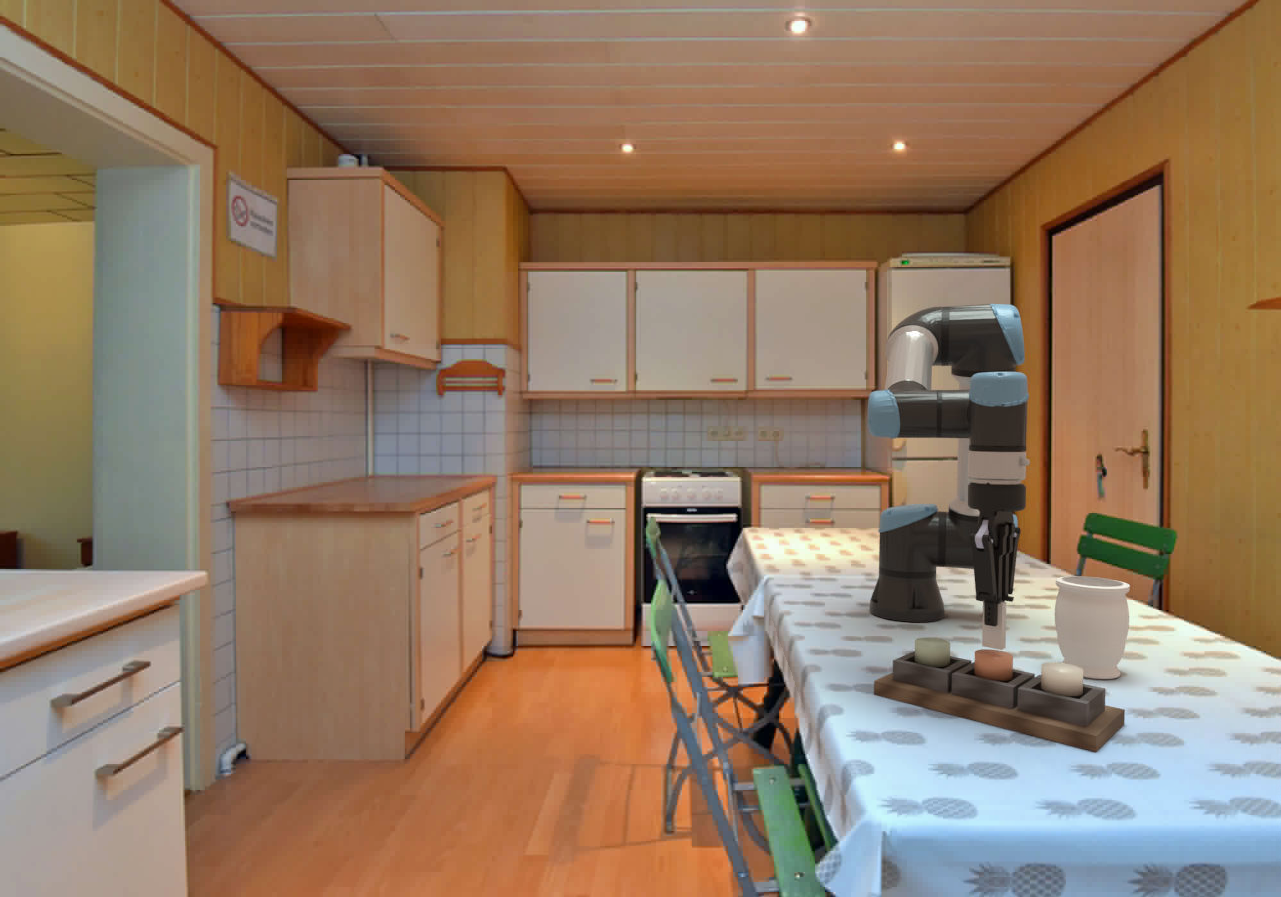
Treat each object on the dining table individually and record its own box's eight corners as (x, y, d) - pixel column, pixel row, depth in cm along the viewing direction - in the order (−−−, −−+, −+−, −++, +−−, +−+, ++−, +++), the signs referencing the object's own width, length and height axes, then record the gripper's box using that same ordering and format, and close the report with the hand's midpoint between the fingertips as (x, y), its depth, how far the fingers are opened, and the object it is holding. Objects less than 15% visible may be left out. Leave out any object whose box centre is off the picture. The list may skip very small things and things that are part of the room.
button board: (873, 694, 120) (874, 661, 120) (913, 674, 130) (913, 644, 129) (1096, 752, 99) (1097, 712, 99) (1124, 724, 109) (1125, 687, 108)
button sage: (908, 661, 121) (909, 642, 120) (923, 655, 124) (923, 635, 124) (941, 669, 117) (941, 648, 117) (955, 661, 121) (955, 642, 121)
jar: (1119, 666, 134) (1121, 577, 134) (1135, 685, 125) (1137, 589, 124) (1049, 660, 138) (1050, 573, 137) (1059, 678, 128) (1061, 585, 128)
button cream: (1035, 690, 108) (1035, 667, 108) (1048, 681, 112) (1048, 660, 111) (1076, 699, 104) (1076, 676, 104) (1087, 690, 108) (1088, 667, 108)
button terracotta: (968, 675, 114) (968, 654, 114) (982, 667, 118) (982, 647, 118) (1004, 683, 111) (1005, 661, 111) (1018, 675, 114) (1018, 654, 114)
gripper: (1006, 485, 106) (1003, 662, 107) (1040, 480, 115) (1037, 643, 116) (951, 482, 111) (948, 650, 112) (987, 478, 121) (985, 633, 121)
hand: (993, 646), depth 114 cm, fingers closed
